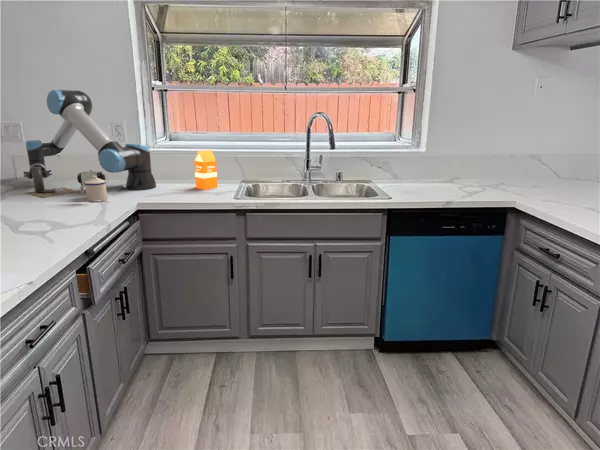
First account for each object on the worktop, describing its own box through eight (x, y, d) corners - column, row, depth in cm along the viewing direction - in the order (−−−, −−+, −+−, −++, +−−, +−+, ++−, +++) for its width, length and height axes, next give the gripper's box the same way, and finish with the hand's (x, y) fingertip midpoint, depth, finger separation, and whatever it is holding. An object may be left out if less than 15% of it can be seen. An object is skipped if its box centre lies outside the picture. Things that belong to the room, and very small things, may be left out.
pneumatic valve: (103, 194, 204) (100, 170, 200) (79, 195, 203) (75, 170, 199) (108, 192, 209) (105, 169, 205) (84, 192, 208) (81, 169, 205)
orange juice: (195, 187, 224) (193, 150, 218) (208, 185, 230) (207, 149, 224) (204, 189, 219) (202, 151, 213) (217, 187, 225) (216, 150, 219)
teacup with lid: (112, 198, 196) (109, 174, 193) (101, 203, 187) (97, 178, 184) (88, 198, 197) (84, 173, 194) (76, 202, 188) (72, 177, 185)
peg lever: (65, 191, 205) (61, 166, 201) (61, 192, 201) (57, 167, 197) (37, 191, 203) (33, 166, 200) (33, 193, 199) (29, 167, 196)
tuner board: (81, 194, 205) (81, 191, 205) (43, 200, 191) (42, 197, 190) (62, 189, 215) (61, 186, 214) (24, 195, 200) (24, 192, 200)
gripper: (52, 177, 228) (54, 184, 208) (24, 179, 221) (23, 186, 202) (50, 163, 226) (51, 169, 206) (22, 165, 219) (20, 171, 200)
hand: (37, 178), depth 204 cm, fingers closed
